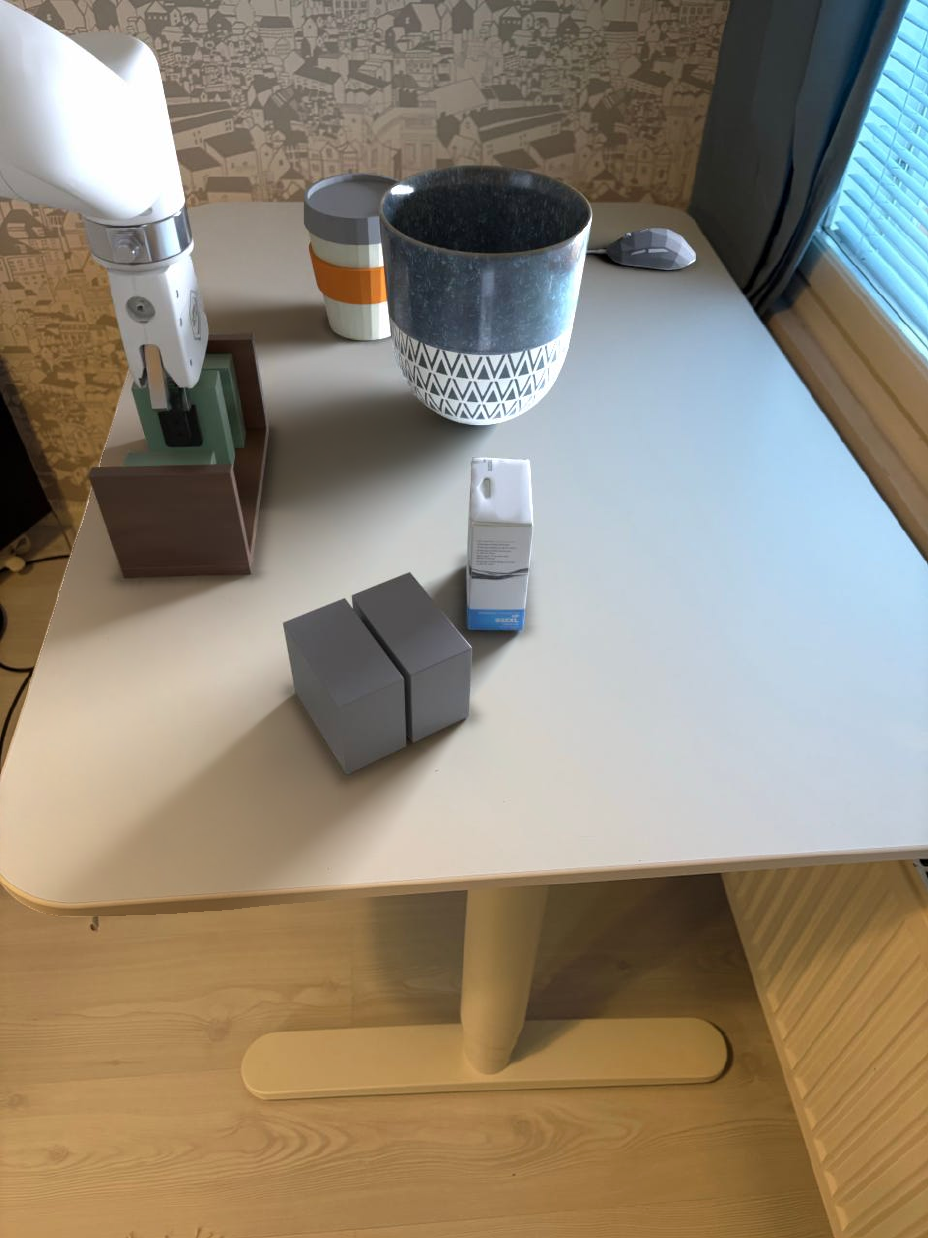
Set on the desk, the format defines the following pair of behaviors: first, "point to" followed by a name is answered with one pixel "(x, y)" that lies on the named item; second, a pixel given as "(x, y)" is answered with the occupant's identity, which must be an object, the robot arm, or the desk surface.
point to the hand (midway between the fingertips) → (187, 431)
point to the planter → (482, 285)
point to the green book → (209, 414)
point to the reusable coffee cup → (349, 252)
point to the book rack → (193, 486)
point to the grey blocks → (379, 670)
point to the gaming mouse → (650, 249)
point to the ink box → (498, 543)
